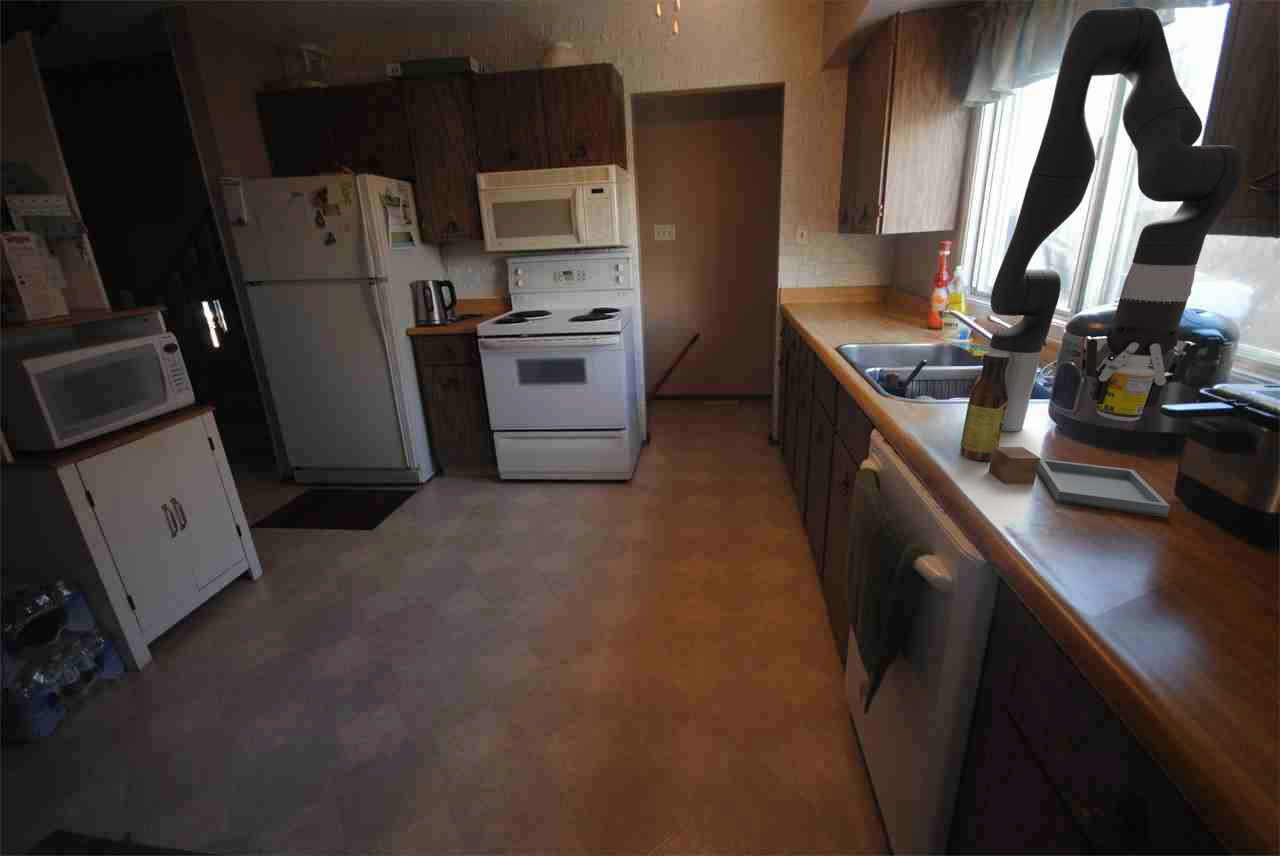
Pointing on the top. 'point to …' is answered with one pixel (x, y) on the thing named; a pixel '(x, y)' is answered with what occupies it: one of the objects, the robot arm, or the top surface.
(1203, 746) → the top surface
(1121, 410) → the supplement bottle
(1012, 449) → the walnut block
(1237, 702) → the top surface
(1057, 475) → the tray
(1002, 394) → the sauce bottle
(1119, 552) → the top surface
